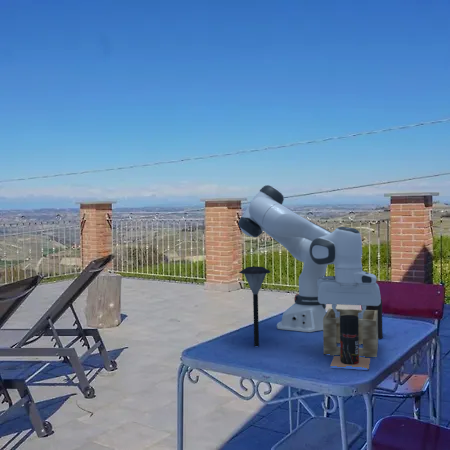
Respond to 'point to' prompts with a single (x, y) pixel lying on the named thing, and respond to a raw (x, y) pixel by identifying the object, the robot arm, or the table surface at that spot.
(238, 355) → the table surface
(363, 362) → the tile
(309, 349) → the table surface
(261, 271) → the solar garden light
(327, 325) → the crate
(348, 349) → the deodorant
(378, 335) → the bottle
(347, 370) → the table surface
